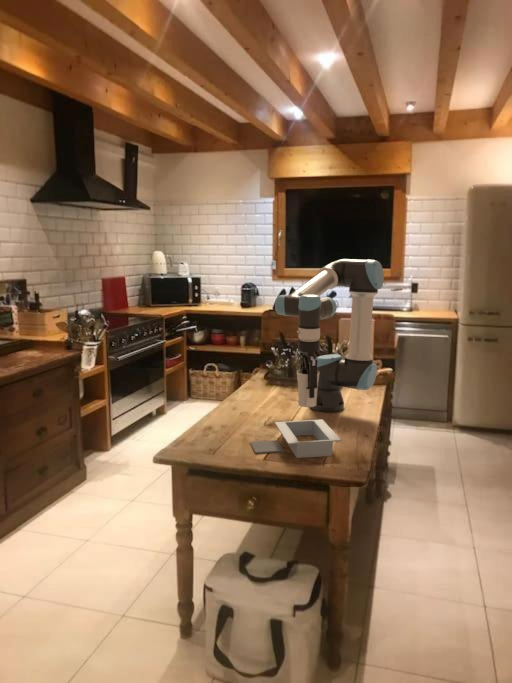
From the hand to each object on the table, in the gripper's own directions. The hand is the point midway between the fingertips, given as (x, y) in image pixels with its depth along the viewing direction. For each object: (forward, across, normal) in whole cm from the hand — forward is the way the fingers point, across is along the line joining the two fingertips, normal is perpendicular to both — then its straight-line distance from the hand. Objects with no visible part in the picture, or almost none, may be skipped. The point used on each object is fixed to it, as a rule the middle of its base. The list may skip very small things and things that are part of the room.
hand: (307, 402), depth 198 cm
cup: (+1, 0, 0) cm, 1 cm away
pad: (+16, 0, -15) cm, 22 cm away
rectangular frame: (+16, 0, 0) cm, 16 cm away
